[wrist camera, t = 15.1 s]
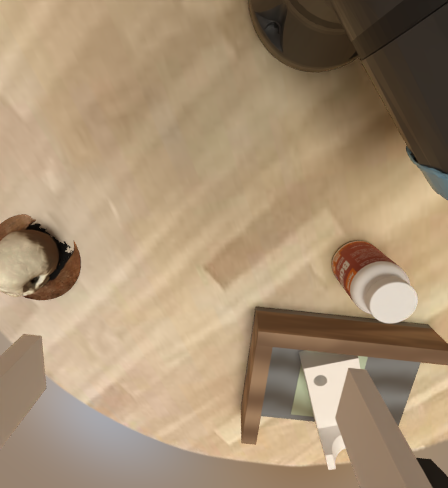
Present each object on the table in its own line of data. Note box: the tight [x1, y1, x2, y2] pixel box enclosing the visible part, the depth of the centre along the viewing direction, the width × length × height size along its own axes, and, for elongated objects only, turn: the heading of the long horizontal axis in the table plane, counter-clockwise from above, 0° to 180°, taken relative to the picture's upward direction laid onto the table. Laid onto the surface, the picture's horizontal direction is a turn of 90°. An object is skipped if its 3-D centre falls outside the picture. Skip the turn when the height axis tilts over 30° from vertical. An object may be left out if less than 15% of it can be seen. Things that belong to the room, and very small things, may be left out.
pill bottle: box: [332, 241, 418, 323], centre depth 37 cm, size 6×6×11 cm
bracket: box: [299, 350, 360, 470], centre depth 44 cm, size 13×7×8 cm, turn 15°
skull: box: [0, 214, 81, 300], centre depth 42 cm, size 12×10×10 cm
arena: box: [241, 307, 448, 445], centre depth 45 cm, size 18×24×6 cm
